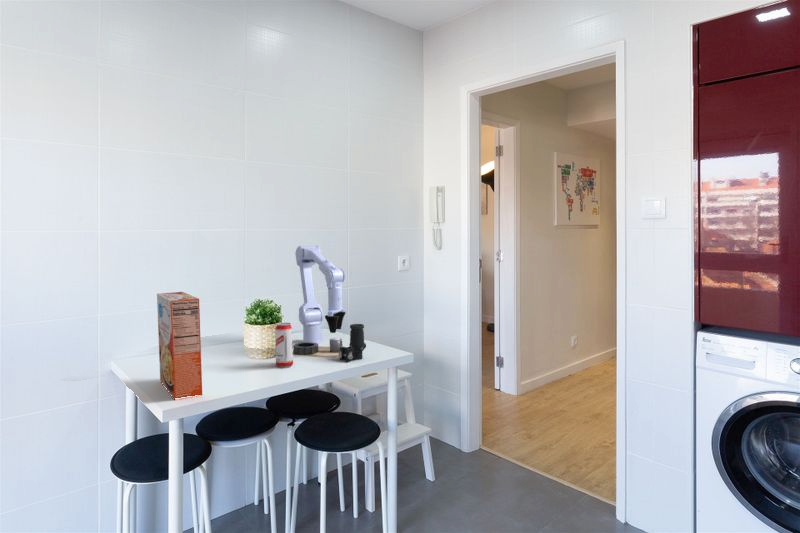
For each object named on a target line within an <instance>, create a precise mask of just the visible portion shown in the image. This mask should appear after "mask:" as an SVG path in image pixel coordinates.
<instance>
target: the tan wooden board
mask: <svg viewBox="0 0 800 533" xmlns="http://www.w3.org/2000/svg"><path fill="white" fill-rule="evenodd" d="M318 351H319V352H317V353H315V354H311V355H297V354H294V353H293V357H306V358H307V357H308V358H309V357H310V358H312V357H314V358H331V359H332V358H335V359H337V358H338V359H340V358H341V357H339V352H338V353H332V352H330V346H326V345H325V346H320V345H318Z"/></svg>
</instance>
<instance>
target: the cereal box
mask: <svg viewBox="0 0 800 533" xmlns="http://www.w3.org/2000/svg"><path fill="white" fill-rule="evenodd" d="M156 301H157V302H156V305H157V306H156V308H157V326H158V328H157V329H158V332H157V334H158V352H159V353H158V355H159V356H158V357H159V378H160V379H159V380H160V381H161V382H162V383H163V385H164V386H165V387H166V388H167V390H168V391H169V393H170V394H171V395H172V397H173V398H174V399H175V398H181V397H187V396H195V395H201V396H203V379H202V378H203V377H202V376H203V372H202V371H203V370H202V350H201V349H202V347H201V346H202V343H201V342H202V341H201V314H200V298H199V297H195V296H193V295H191V294H189V293H186V292H184V291H177V292H163V293H156ZM161 382H160V383H161ZM163 385H162V386H163ZM164 386H163V387H164ZM167 390H166V391H167ZM169 393H168V394H169ZM170 394H169V395H170ZM172 397H171V398H172ZM173 398H172V399H173Z"/></svg>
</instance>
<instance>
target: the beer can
mask: <svg viewBox="0 0 800 533" xmlns="http://www.w3.org/2000/svg"><path fill="white" fill-rule="evenodd" d="M274 333H275V334H274V336H275V337H274V338H275V366H277V367H278V368H280V369H285V368H286V367H287V368H290V367H292V366H293V364H294V356H293V345H294V344H293V337H294V336H293V327H292V325H291V323H290V322H278V323H277V324H276V327H275V330H274Z"/></svg>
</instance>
